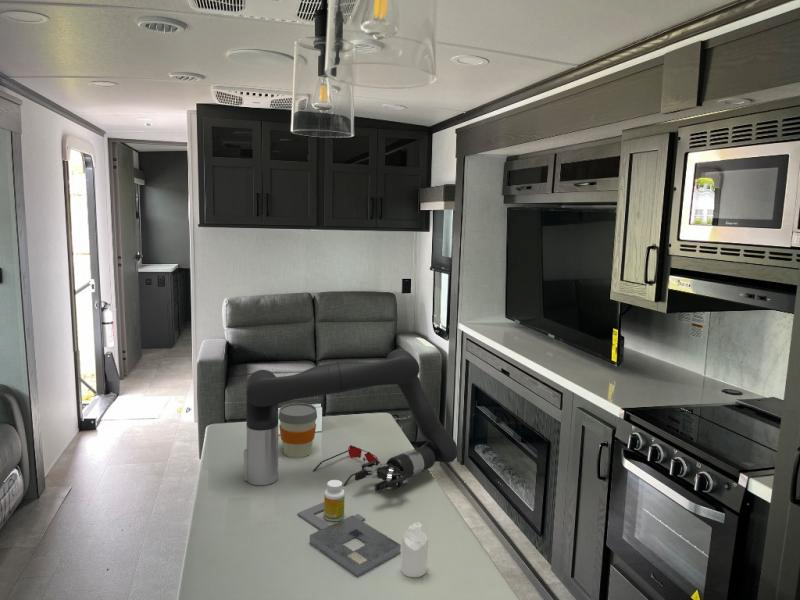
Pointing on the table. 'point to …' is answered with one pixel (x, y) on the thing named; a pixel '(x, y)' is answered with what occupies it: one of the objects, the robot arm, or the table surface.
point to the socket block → (362, 558)
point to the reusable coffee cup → (297, 428)
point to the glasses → (354, 453)
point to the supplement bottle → (334, 501)
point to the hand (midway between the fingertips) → (365, 482)
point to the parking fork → (317, 522)
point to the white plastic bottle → (414, 551)
